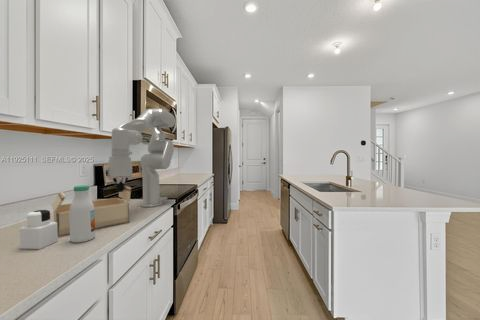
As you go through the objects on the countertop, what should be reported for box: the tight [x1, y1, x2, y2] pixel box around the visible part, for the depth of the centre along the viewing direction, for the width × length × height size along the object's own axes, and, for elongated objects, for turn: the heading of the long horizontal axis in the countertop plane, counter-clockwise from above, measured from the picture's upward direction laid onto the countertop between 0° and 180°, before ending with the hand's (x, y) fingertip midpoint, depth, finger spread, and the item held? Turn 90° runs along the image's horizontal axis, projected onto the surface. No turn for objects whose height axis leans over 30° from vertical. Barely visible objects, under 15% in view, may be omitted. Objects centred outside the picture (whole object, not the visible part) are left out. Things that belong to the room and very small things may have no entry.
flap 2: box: [118, 184, 132, 203], centre depth 111 cm, size 1×17×6 cm, turn 42°
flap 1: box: [51, 191, 66, 213], centre depth 94 cm, size 1×17×6 cm, turn 43°
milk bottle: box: [69, 184, 96, 244], centre depth 84 cm, size 8×8×20 cm
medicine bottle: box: [19, 209, 59, 250], centre depth 79 cm, size 7×7×12 cm
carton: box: [53, 197, 130, 237], centre depth 102 cm, size 26×20×9 cm
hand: (120, 191), depth 109 cm, fingers closed
